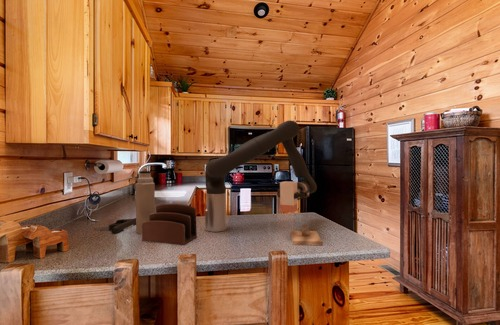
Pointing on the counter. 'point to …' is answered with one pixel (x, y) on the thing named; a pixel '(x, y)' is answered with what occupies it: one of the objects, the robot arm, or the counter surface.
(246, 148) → the robot arm
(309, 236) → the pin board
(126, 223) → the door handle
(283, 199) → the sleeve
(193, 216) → the letter holder
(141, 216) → the thermos bottle
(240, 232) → the counter surface
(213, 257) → the counter surface
